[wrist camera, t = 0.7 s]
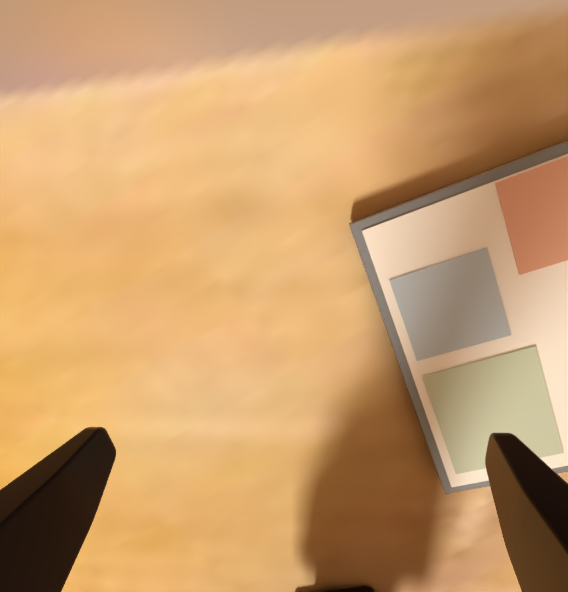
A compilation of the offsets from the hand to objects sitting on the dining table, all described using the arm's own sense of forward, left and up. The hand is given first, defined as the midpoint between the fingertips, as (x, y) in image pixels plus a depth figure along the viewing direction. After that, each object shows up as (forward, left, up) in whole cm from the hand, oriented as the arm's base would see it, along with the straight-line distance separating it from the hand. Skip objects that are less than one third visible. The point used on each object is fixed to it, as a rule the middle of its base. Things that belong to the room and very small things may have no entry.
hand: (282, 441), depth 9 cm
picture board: (-6, -9, -14) cm, 18 cm away
